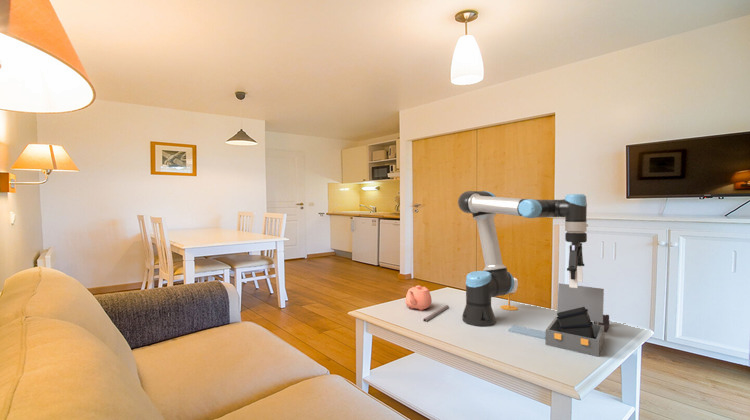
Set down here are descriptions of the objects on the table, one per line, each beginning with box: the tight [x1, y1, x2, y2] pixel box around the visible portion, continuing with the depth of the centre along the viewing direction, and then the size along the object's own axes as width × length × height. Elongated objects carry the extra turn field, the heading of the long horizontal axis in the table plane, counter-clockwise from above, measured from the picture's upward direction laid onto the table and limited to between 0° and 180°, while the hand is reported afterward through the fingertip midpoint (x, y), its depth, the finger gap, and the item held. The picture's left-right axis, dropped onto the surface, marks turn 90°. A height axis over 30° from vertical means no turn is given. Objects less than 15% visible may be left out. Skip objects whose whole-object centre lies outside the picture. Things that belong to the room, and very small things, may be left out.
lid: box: [556, 283, 605, 323], centre depth 149 cm, size 17×14×1 cm
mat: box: [507, 324, 546, 340], centre depth 151 cm, size 15×8×1 cm, turn 52°
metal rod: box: [422, 304, 450, 323], centre depth 177 cm, size 2×27×2 cm, turn 145°
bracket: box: [593, 314, 610, 333], centre depth 157 cm, size 6×12×5 cm, turn 141°
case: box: [545, 316, 605, 358], centre depth 141 cm, size 18×25×16 cm
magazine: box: [556, 307, 596, 339], centre depth 140 cm, size 4×13×15 cm, turn 42°
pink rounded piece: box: [404, 285, 432, 312], centre depth 187 cm, size 13×20×12 cm, turn 148°
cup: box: [500, 277, 519, 311], centre depth 187 cm, size 9×9×16 cm
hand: (576, 284), depth 140 cm, fingers open, 13 cm apart
